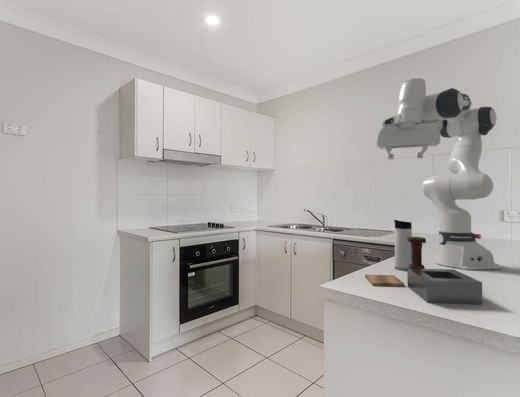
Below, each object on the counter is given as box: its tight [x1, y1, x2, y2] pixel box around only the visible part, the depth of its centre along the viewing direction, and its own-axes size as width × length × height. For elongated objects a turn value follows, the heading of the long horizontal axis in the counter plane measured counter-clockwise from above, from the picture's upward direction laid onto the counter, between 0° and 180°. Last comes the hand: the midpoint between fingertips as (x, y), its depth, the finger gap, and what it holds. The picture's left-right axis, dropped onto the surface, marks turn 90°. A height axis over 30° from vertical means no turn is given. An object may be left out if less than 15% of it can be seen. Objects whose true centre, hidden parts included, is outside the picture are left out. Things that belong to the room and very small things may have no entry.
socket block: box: [406, 268, 483, 305], centre depth 85 cm, size 14×14×6 cm
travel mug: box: [393, 219, 413, 272], centre depth 115 cm, size 6×7×20 cm
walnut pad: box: [364, 274, 405, 288], centre depth 98 cm, size 10×10×1 cm
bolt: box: [407, 236, 427, 269], centre depth 100 cm, size 6×5×15 cm
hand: (404, 158), depth 100 cm, fingers open, 8 cm apart
